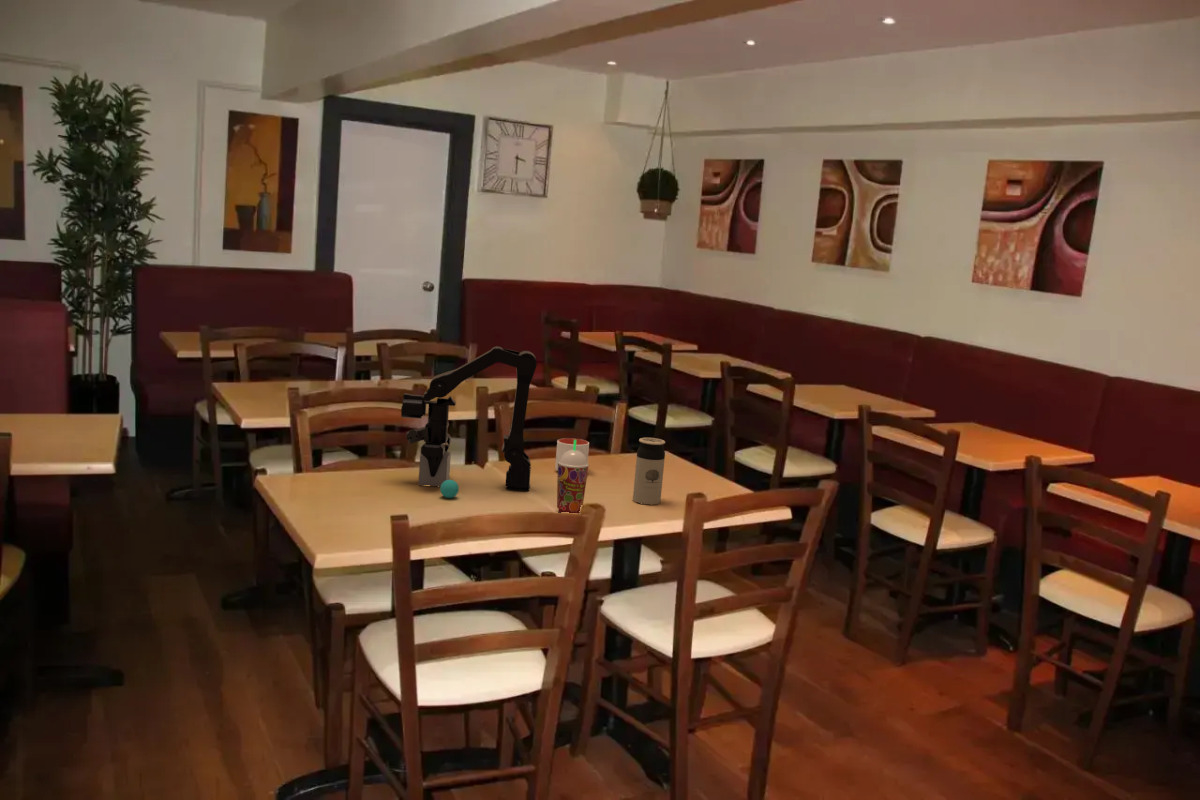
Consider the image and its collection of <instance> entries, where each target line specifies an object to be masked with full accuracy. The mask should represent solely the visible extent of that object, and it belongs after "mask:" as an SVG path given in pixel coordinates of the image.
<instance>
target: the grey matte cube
mask: <svg viewBox="0 0 1200 800" xmlns="http://www.w3.org/2000/svg"><path fill="white" fill-rule="evenodd" d="M451 456H452V452H451V451H447V452H446V451H445V452H444V457H443V459H442V461H441V463H440V466H439V468H438V470H437V472H436V475H435V477H431V475H430V470H429V465H428V460H427V458H426V457H424V456H423V455H422V454H421V453H420V456H419V469H418V482H417V483H418V484H419V485H430V486H439V487H441V484H442V483H443V482H444V481H446V480H450V472H451ZM418 484H417V485H418ZM439 487H438V488H439Z"/></svg>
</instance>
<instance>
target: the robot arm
mask: <svg viewBox="0 0 1200 800" xmlns="http://www.w3.org/2000/svg"><path fill="white" fill-rule="evenodd" d="M537 362H538V360H537V359H536V355H535V354H534V353H533V352H531V351H529V350H522V351H521V352H520V351H517V350H512V349H508V348H503V347H501V346H493V347H492V348H491V349H490V350H488V351H486V352H485V353H483V354H481V355H479V356H477V357H476V358H474V359H472V360H471V361H468V362H466V363H464V364H463V365H461V366H460V367H458V368H455V369H453V370H449V371H446V372H443V373H440V374H437V375H435V376H434V377H432V379H431V381H430V383H429V387H428V388H427V390H425V391H424V393H423V394H411V393H406V392H405V393H403V395H402V396H403V397H402V405H401V411H400V412H401V415H400V416H401V418H406V419H419V420H420V419H422V417H424V416H426V414H427V411H428V414H427V423H426V424H425V426H423V427H419V428H413V429H409V430H408V431H407V432H406V433H405V435H406V440H407V441H408V444H409V445H411V444H414V443H417V442H418V443H419V442H420V441H421V442H422V441H423V442H424V443H423V444H422V446H420V455H421V454H422V455H423V456H424V457H426V458H427V460H428V465H429V470H430V475H431V477H435V475H436V472H437V470H438V468H439V466H440V463H441V461H442V459H443V457H444V452H445V451H446V452H449V451H448V450H449V449H450V445H451V443H452V436H451V434H449V433H448V431H449V430H448V428H449V426H450V422H449V411H450V407H455V406H456V404H457V402H456V401H455V400H454V398H453V396H451V395H449V394H450V393H451V392H452V391H453V390H455V389H456V388H457V387H459V385H461V384H462V383H463V382H464V381H466V380H468V379H469V378H471V377H473V376H475V375H477V374H479V373H480V372H483V371H484V370H486V369H487V368H489V367H491V366H493V365H495V364H496V363H501V364H503V365H507V366H510V367H513V368H515V369H516V387H515V396H514V403H513V409H512V416H511V417H512V418H511V425H510V430H509V432H508V435H507V434H503V444H502V446H501V452H502V454H503V457H504V460H505V461H506V462H507V463H508V464H510V465H509V466H508V469H507V470H506V473H505V487H506V490H507V491H508V490H509V491H518V492H519V491H520V492H521V491H522V492H529V491H530V490H531V489H530V488H531V484H530V483H531V470H532V467H531V465H532V464H531V458H530V456H528V454H527V453H526V452H525V446H524V445H525V444H524V441H525V439H524V428H525V421H526V415H527V414H526V413H527V407H528V400H529V392H530V386H531V383H532V381H533V378H534V375H535V372H536V368H537V366H538V365H537ZM447 395H449V396H448V397H447V398H444V397H446V396H447ZM435 398H436V400H434V399H435ZM427 406H428V410H427Z"/></svg>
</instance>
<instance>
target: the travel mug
mask: <svg viewBox="0 0 1200 800" xmlns="http://www.w3.org/2000/svg"><path fill="white" fill-rule="evenodd" d="M638 442H639V446H638V448H637V450H636V459H635V471H634V472H635V473H634V481H633V491H632V500H633V501H634V502H635V503H637V502H638V503H637V504H639V503H642V504H641V505H644V504H656V505H659V504H660V503H661V499H662V489H663V479H664V478H663V477H664V469H665V468H664V467H665V458H666V452H665V449H664V446H665V444H666V441H665V440H663V439H661V438H655V437H642V438H641V437H640V438H639V440H638Z"/></svg>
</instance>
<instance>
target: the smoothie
mask: <svg viewBox="0 0 1200 800" xmlns="http://www.w3.org/2000/svg"><path fill="white" fill-rule="evenodd" d="M589 466H590V463H589V461H588V462H587V459H586V457H585V455H584V454H583V453H582V452H580V451H578V450H576V440H574V445H573V450H569V451H566V452H565V453H564V454H563V455H562V456H561V458H560V460H559V461H558V472H557V479H556V482H557V488H556V491H557V492H556V493H557V494H556V495H557V496H556V507H557V509H558V512H569V513H579V511H580V507H581V505H583V506H584V499H585V493H586V487H587V479H588V471H589ZM580 512H581V511H580Z"/></svg>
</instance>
